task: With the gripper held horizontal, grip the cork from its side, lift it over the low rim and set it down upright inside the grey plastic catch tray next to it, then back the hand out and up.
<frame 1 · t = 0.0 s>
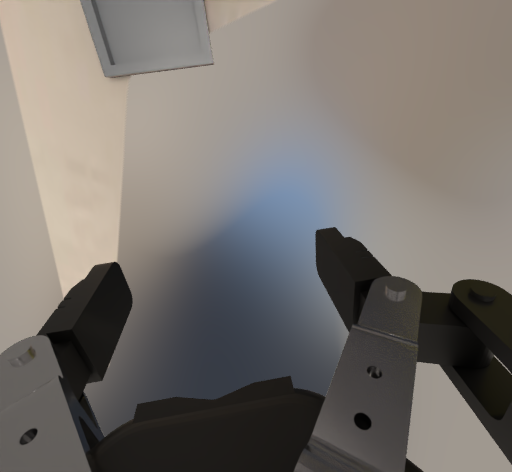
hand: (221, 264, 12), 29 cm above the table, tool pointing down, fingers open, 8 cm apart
catch tray: (147, 6, 30), on the table
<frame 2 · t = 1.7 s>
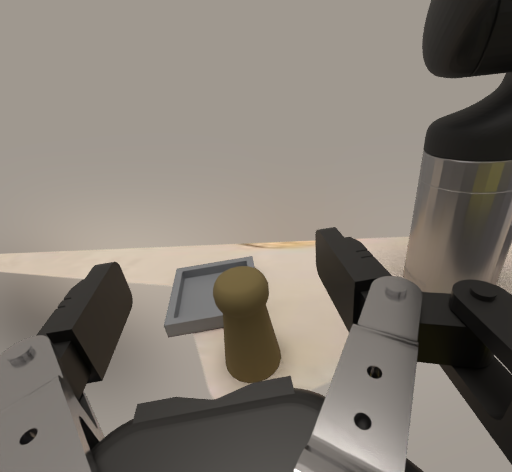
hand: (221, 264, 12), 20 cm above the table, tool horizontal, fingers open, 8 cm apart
cork: (253, 358, 31), on the table
catch tray: (217, 296, 40), on the table
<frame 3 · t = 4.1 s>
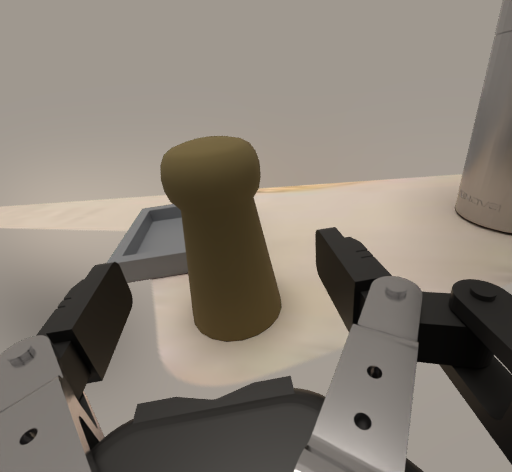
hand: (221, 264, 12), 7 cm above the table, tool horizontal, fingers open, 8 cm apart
cork: (237, 308, 19), on the table
catch tray: (193, 239, 29), on the table
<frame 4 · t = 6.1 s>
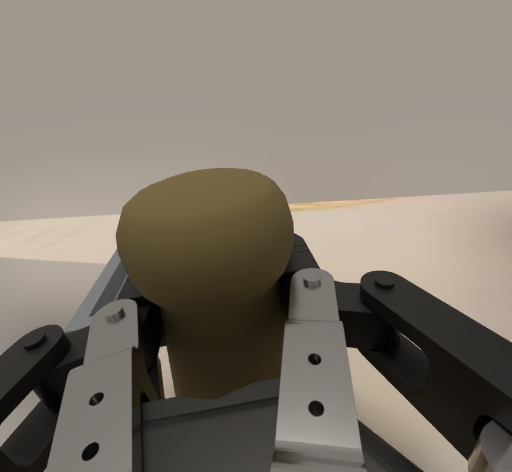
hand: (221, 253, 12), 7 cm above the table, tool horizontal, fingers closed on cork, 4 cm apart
cork: (248, 410, 13), on the table, touching gripper
catch tray: (186, 280, 23), on the table
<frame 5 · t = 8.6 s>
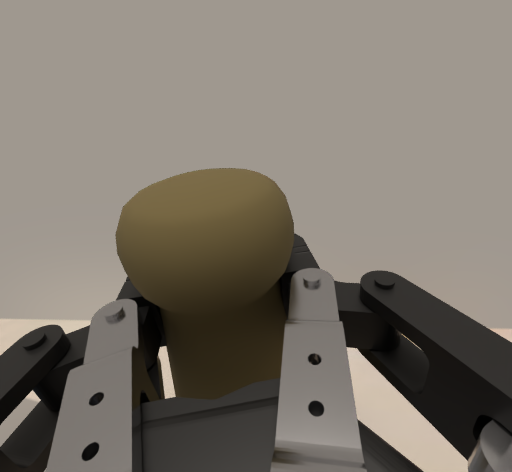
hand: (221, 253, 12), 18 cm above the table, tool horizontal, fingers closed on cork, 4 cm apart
cork: (248, 410, 13), point 11 cm above the table, touching gripper
when the fingers open (8 cm above the table, at t = 11.2 s): cork moves 1 cm, point 1 cm above the table.
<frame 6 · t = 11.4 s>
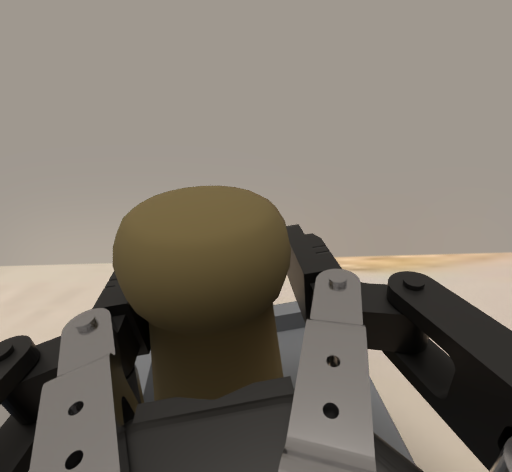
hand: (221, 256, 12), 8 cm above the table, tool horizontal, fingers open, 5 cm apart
cork: (225, 424, 13), point 1 cm above the table, touching gripper
catch tray: (250, 426, 14), on the table
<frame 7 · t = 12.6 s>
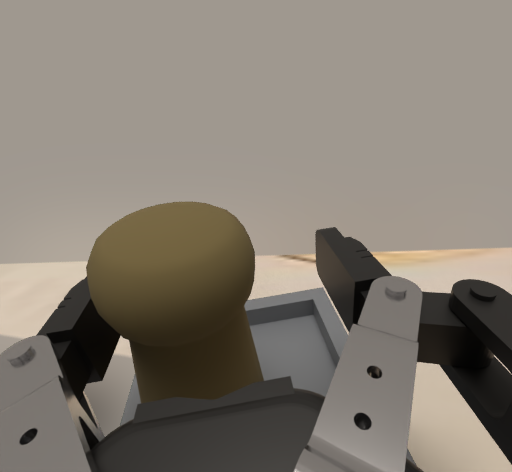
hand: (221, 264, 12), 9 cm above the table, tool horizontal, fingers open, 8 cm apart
cork: (211, 415, 14), point 1 cm above the table, touching catch tray
catch tray: (250, 404, 15), on the table
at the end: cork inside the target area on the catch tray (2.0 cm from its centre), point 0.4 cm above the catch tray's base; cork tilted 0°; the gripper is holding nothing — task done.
